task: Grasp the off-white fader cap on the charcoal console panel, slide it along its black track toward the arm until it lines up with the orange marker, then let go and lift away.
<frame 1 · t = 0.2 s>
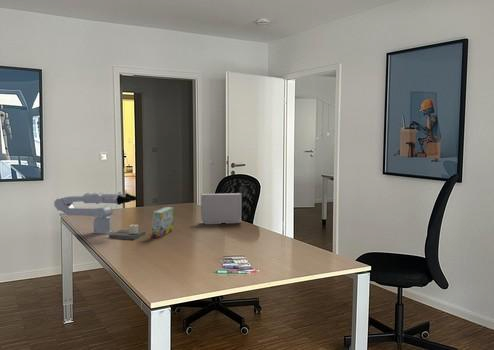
hand: (133, 199, 278), 21 cm above the table, tool horizontal, fingers open, 7 cm apart
snack box: (162, 234, 283), on the table
fader cap: (133, 229, 274), point 5 cm above the table, slide at 0.0 cm
console panel: (127, 236, 276), on the table
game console: (221, 223, 319), on the table
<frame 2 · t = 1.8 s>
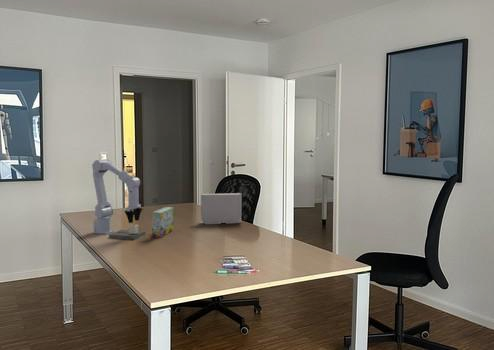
hand: (133, 221, 274), 9 cm above the table, tool pointing down, fingers open, 7 cm apart
nothing on the table moved.
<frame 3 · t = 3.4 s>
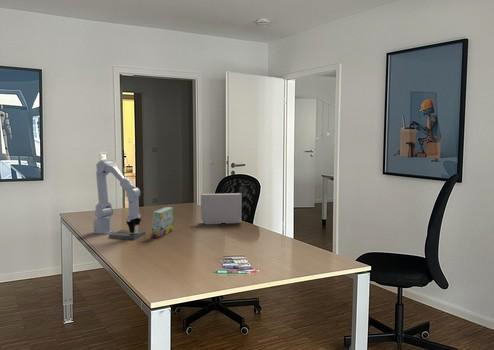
hand: (133, 231, 275), 3 cm above the table, tool pointing down, fingers closed on fader cap, 4 cm apart
fader cap: (133, 229, 274), point 5 cm above the table, slide at 0.0 cm, touching gripper
everything else where it was.
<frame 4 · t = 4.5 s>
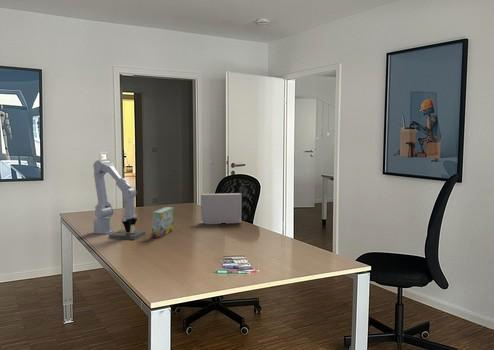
hand: (129, 231, 275), 3 cm above the table, tool pointing down, fingers closed on fader cap, 4 cm apart
fader cap: (129, 228, 275), point 5 cm above the table, slide at 2.6 cm, touching gripper
everything else where it was.
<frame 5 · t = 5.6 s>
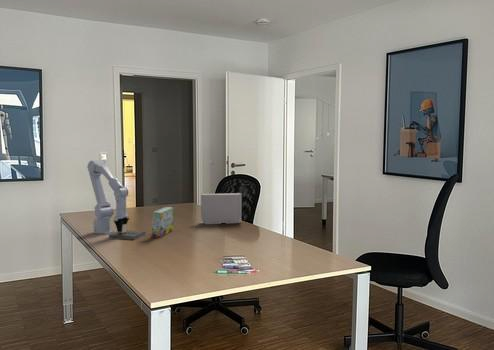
hand: (121, 230, 276), 3 cm above the table, tool pointing down, fingers closed on fader cap, 4 cm apart
fader cap: (121, 228, 276), point 5 cm above the table, slide at 7.9 cm, touching gripper
everything else where it was.
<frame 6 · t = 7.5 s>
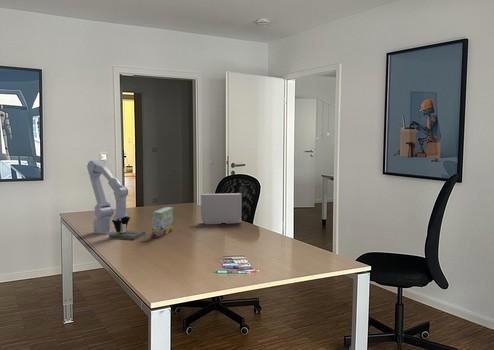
hand: (121, 230, 276), 3 cm above the table, tool pointing down, fingers open, 7 cm apart
fader cap: (121, 228, 276), point 5 cm above the table, slide at 8.0 cm
everything else where it was.
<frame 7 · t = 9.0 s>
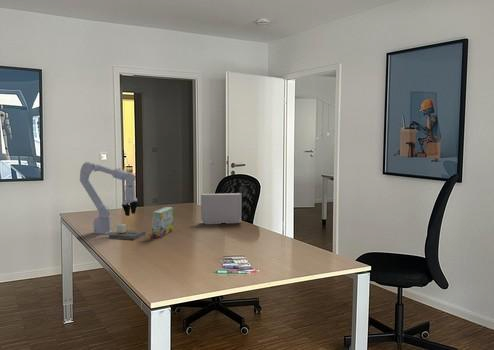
hand: (130, 214, 289), 10 cm above the table, tool pointing down, fingers open, 7 cm apart
nothing on the table moved.
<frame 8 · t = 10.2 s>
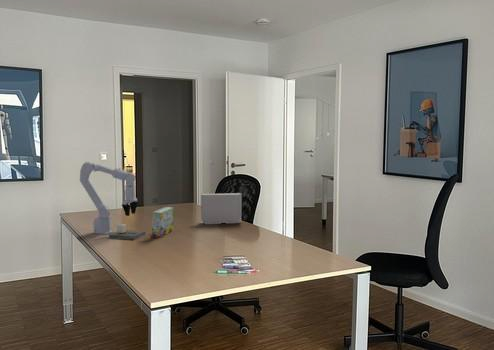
hand: (130, 214, 289), 10 cm above the table, tool pointing down, fingers open, 7 cm apart
nothing on the table moved.
at the end: fader cap slide at 8.0 cm; the gripper is holding nothing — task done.
